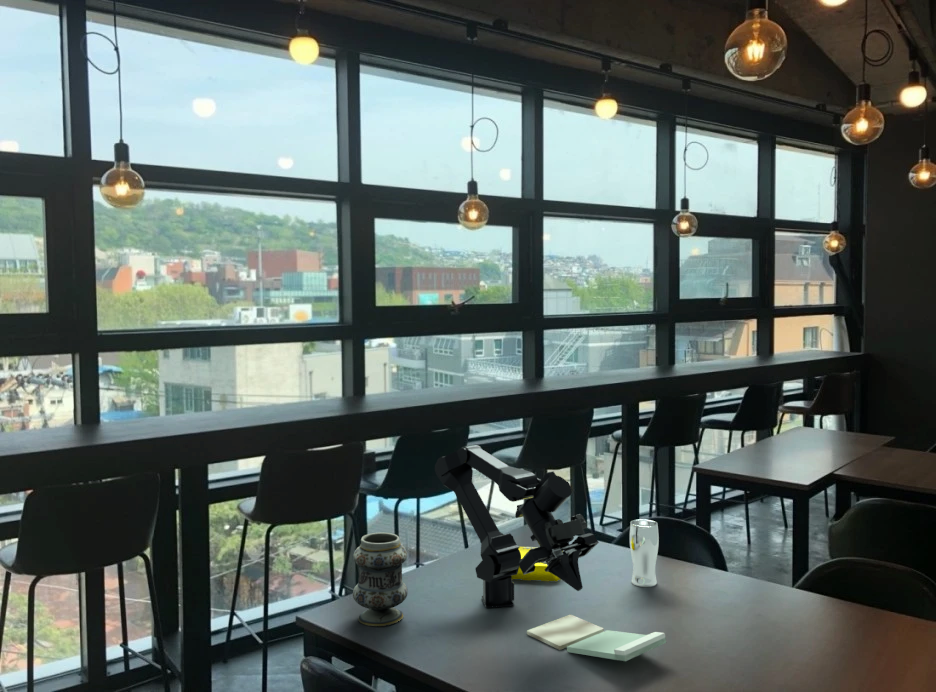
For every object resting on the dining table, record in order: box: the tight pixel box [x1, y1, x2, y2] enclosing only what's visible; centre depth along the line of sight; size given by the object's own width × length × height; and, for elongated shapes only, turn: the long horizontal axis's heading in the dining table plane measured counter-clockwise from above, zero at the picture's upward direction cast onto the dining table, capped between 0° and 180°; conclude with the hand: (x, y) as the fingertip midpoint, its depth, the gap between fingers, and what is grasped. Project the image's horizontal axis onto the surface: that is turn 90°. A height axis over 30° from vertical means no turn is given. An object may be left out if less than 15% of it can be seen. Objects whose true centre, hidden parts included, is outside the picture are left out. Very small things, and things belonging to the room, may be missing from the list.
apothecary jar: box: [352, 532, 409, 627], centre depth 164 cm, size 12×12×18 cm
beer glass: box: [629, 518, 660, 588], centre depth 184 cm, size 7×7×15 cm
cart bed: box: [526, 614, 605, 651], centre depth 156 cm, size 10×13×1 cm
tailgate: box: [566, 629, 667, 662], centre depth 145 cm, size 2×12×15 cm
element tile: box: [511, 546, 564, 582], centre depth 194 cm, size 15×15×5 cm
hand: (580, 589), depth 152 cm, fingers closed
